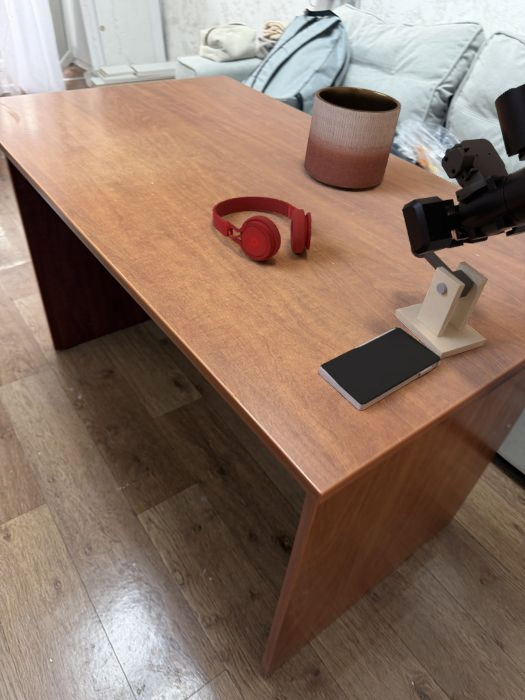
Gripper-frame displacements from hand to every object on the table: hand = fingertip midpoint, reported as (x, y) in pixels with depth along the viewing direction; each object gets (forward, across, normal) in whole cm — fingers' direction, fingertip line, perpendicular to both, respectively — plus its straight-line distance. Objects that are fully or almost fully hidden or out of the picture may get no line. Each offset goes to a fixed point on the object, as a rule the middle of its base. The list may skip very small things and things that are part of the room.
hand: (425, 236), depth 68 cm
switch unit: (+2, 0, +13) cm, 13 cm away
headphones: (+25, +13, -9) cm, 30 cm away
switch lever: (0, 0, +5) cm, 5 cm away
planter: (+38, -16, -22) cm, 47 cm away
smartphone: (0, +13, +16) cm, 20 cm away
